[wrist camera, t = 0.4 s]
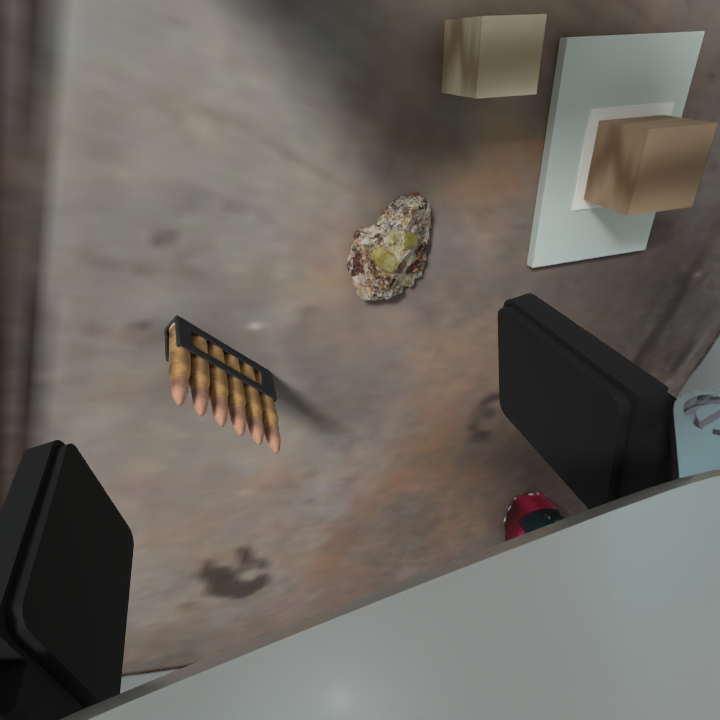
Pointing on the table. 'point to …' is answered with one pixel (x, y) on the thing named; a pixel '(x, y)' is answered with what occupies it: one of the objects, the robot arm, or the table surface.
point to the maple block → (493, 55)
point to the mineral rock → (391, 249)
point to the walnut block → (648, 163)
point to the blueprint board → (579, 127)
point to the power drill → (529, 514)
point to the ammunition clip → (221, 381)
